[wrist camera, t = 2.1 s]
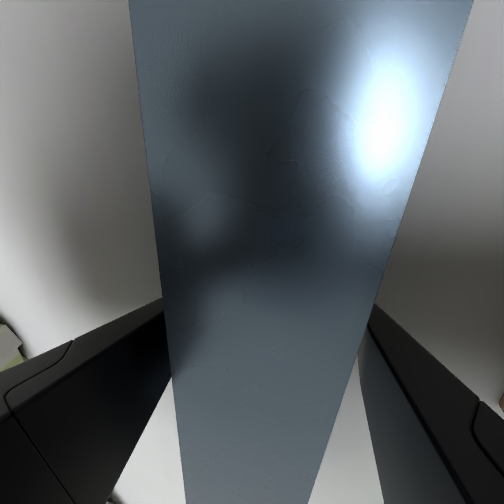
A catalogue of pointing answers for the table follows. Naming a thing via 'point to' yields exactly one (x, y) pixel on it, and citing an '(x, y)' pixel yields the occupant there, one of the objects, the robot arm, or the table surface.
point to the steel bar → (278, 211)
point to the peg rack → (502, 403)
